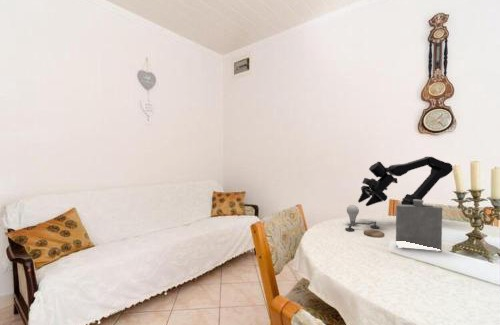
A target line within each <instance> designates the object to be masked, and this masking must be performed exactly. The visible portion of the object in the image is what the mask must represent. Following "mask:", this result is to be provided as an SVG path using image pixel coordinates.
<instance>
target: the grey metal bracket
mask: <svg viewBox="0 0 500 325" xmlns="http://www.w3.org/2000/svg"><path fill="white" fill-rule="evenodd" d="M354 225H366V226H368V225H369V226H370V228H371V229H372V230H379V229H380V228H381V227H380V225H377V221H371V222H360V221H359V222H357V221H355V223H351V224H350V223H349V224H348V227H345V229H344V230H345V231H347V232H349V233H350V232H351V233H352V232H355V228H353V227H352V226H354Z"/></svg>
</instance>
